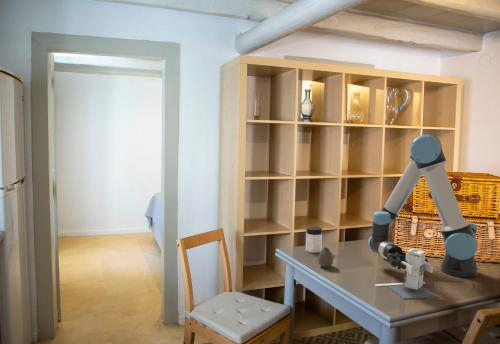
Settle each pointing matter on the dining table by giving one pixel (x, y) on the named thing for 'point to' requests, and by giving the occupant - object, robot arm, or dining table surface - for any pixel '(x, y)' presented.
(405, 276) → the syrup box
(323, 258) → the vase
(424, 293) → the mat
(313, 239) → the jar
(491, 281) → the dining table surface
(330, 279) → the dining table surface
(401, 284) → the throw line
